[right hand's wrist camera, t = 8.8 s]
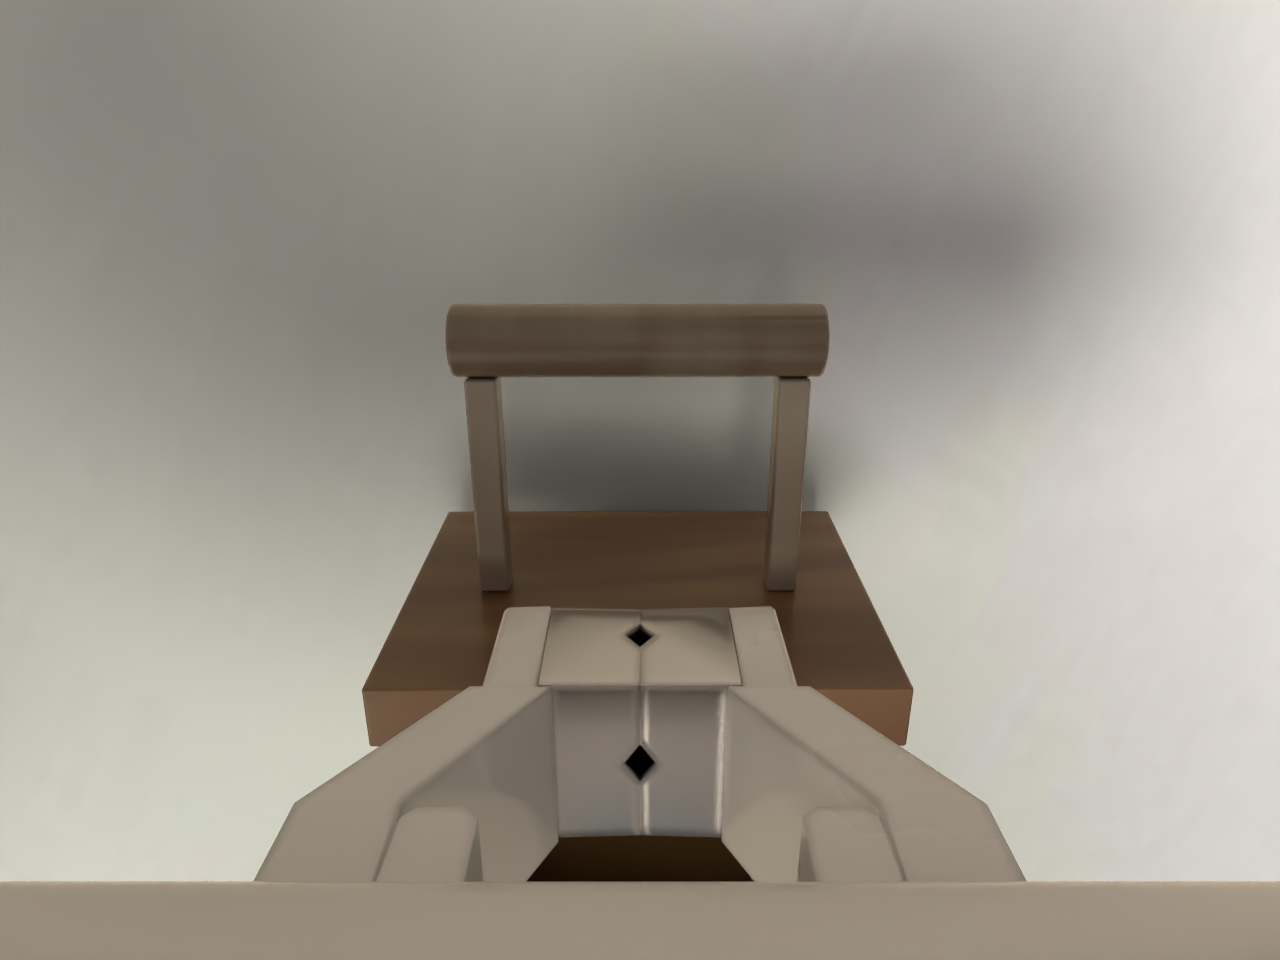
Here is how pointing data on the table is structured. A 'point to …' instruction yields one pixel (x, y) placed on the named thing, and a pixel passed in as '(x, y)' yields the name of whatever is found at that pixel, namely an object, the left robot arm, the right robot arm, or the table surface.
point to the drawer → (637, 542)
